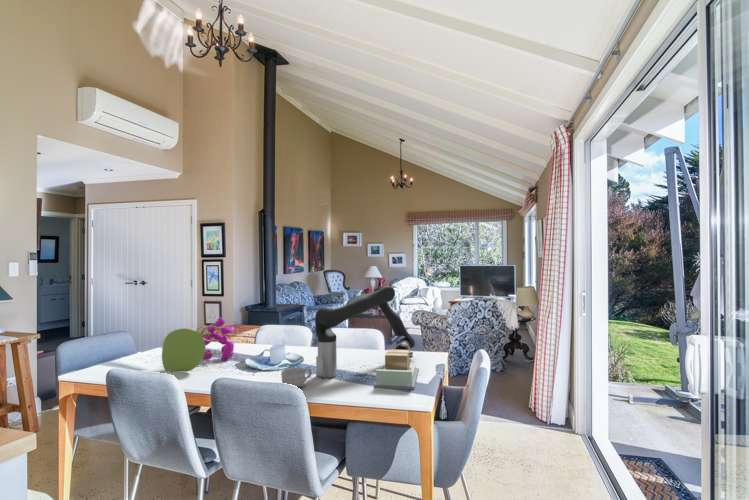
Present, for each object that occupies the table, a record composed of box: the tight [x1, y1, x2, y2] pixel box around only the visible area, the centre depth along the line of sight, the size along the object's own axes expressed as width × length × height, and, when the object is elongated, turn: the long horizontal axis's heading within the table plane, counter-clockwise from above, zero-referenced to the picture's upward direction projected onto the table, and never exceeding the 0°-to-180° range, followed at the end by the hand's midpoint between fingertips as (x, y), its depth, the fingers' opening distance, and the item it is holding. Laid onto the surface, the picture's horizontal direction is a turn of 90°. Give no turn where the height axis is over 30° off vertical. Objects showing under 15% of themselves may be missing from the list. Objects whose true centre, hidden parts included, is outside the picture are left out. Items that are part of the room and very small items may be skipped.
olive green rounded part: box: [161, 316, 235, 373], centre depth 239 cm, size 30×28×35 cm
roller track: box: [373, 364, 420, 390], centre depth 205 cm, size 30×18×8 cm, turn 170°
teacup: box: [280, 367, 313, 389], centre depth 195 cm, size 14×11×8 cm
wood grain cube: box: [384, 348, 411, 370], centre depth 205 cm, size 12×10×11 cm
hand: (398, 358), depth 211 cm, fingers closed
